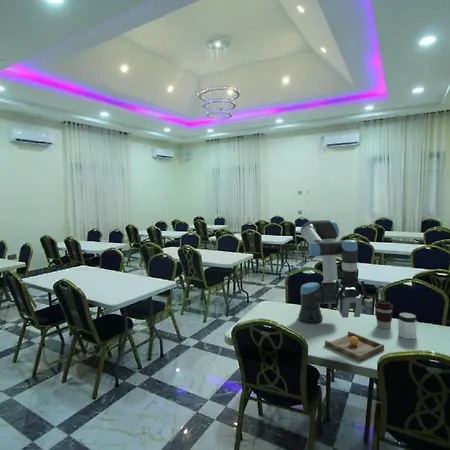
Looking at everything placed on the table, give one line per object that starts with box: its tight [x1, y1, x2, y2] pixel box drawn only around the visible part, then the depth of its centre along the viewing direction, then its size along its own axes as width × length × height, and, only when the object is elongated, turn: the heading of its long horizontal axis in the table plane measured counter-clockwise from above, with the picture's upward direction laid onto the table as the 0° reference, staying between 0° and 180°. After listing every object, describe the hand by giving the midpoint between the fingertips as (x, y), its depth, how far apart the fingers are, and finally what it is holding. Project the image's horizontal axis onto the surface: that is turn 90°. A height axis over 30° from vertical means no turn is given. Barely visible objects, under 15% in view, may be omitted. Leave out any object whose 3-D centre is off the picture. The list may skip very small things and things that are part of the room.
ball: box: [349, 336, 359, 345], centre depth 169 cm, size 5×5×5 cm
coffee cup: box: [374, 300, 394, 330], centre depth 191 cm, size 10×10×15 cm
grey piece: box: [336, 287, 363, 319], centre depth 169 cm, size 9×9×12 cm
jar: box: [397, 312, 418, 340], centre depth 178 cm, size 9×8×12 cm
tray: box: [324, 330, 385, 362], centre depth 168 cm, size 21×20×2 cm
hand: (349, 311), depth 169 cm, fingers closed on grey piece, 10 cm apart
